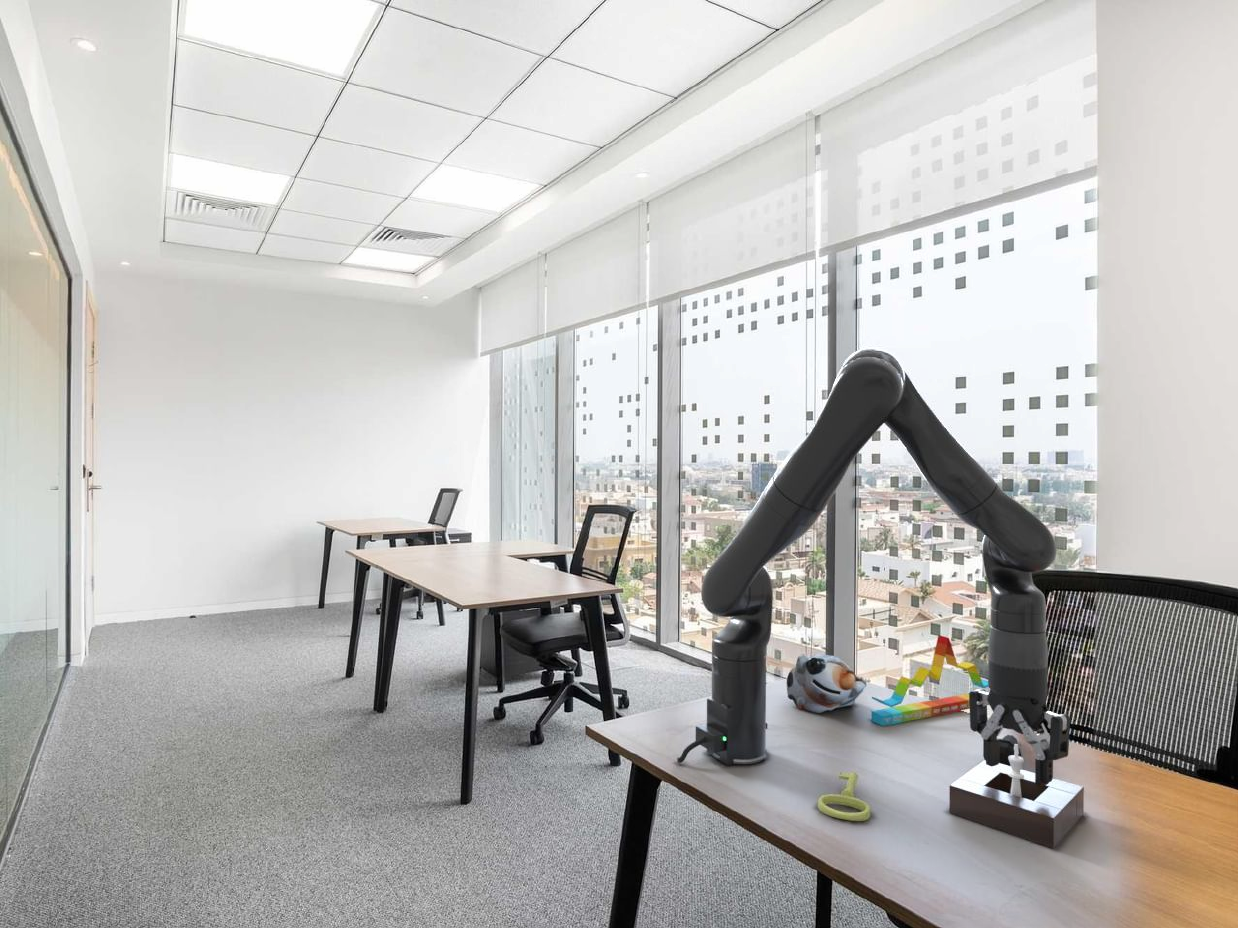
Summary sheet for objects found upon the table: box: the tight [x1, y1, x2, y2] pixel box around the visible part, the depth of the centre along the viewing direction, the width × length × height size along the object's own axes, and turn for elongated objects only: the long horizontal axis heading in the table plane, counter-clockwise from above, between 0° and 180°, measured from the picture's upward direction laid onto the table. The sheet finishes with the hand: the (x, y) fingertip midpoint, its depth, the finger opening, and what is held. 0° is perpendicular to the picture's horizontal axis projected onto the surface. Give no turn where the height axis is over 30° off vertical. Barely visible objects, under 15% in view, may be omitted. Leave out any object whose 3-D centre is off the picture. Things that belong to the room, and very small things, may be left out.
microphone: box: [999, 734, 1023, 766], centre depth 126 cm, size 6×6×20 cm
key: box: [817, 771, 872, 822], centre depth 110 cm, size 7×12×2 cm, turn 172°
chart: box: [870, 635, 990, 727], centre depth 149 cm, size 30×3×15 cm, turn 115°
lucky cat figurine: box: [786, 653, 867, 714], centre depth 151 cm, size 15×12×14 cm
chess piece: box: [1008, 744, 1025, 797], centre depth 107 cm, size 5×5×10 cm
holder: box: [948, 760, 1085, 849], centre depth 107 cm, size 14×14×4 cm
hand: (1016, 773), depth 107 cm, fingers open, 7 cm apart
